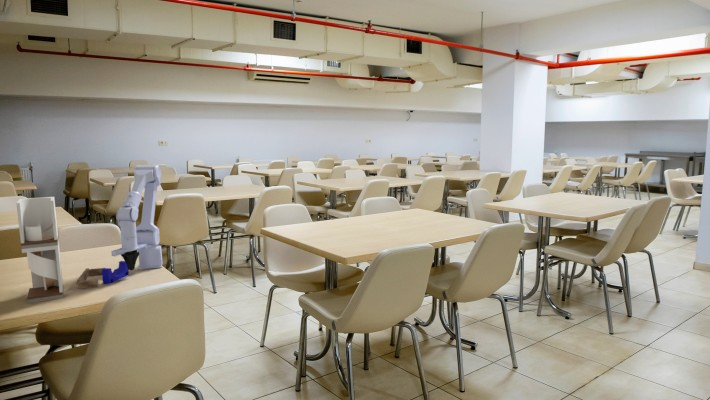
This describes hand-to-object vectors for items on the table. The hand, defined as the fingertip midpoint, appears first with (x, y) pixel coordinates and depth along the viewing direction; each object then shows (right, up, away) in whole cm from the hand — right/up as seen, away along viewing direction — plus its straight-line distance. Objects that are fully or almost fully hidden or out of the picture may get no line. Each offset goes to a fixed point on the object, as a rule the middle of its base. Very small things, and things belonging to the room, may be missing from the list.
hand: (131, 269), depth 201 cm
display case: (-21, -7, -21) cm, 30 cm away
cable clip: (-6, -4, -2) cm, 7 cm away
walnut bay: (-13, -4, -4) cm, 14 cm away
